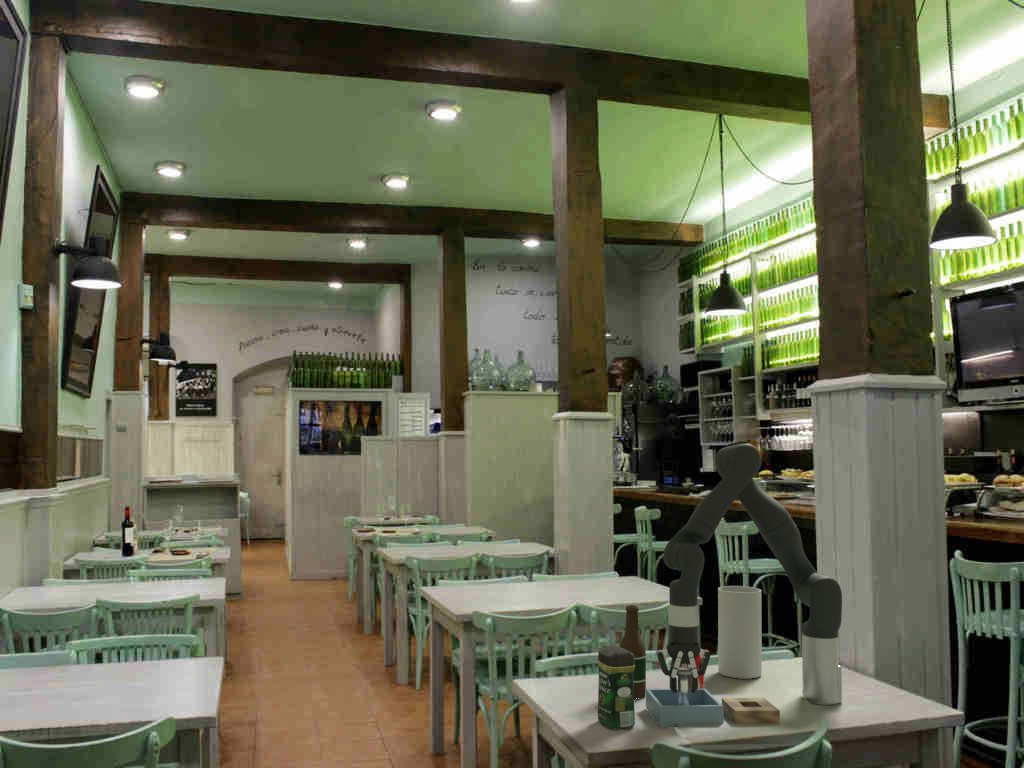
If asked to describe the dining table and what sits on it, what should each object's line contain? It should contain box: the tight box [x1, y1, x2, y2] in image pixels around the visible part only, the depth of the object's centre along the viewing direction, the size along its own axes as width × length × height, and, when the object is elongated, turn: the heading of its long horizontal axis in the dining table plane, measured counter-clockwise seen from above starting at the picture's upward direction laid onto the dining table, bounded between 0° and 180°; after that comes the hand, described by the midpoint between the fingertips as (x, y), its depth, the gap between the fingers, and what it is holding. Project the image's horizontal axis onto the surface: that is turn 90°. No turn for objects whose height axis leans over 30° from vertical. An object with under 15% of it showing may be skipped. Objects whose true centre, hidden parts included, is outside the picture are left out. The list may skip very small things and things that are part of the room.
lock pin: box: [676, 668, 693, 705], centre depth 230 cm, size 4×4×9 cm
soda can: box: [679, 653, 705, 689], centre depth 250 cm, size 7×7×12 cm
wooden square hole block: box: [721, 697, 781, 725], centre depth 228 cm, size 11×11×4 cm
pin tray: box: [645, 688, 724, 728], centre depth 230 cm, size 16×16×5 cm
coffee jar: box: [597, 644, 636, 730], centre depth 224 cm, size 10×8×19 cm
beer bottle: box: [618, 604, 647, 700], centre depth 250 cm, size 8×8×24 cm
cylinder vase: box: [717, 585, 763, 680], centre depth 274 cm, size 12×12×25 cm
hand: (683, 691), depth 230 cm, fingers closed on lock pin, 4 cm apart
